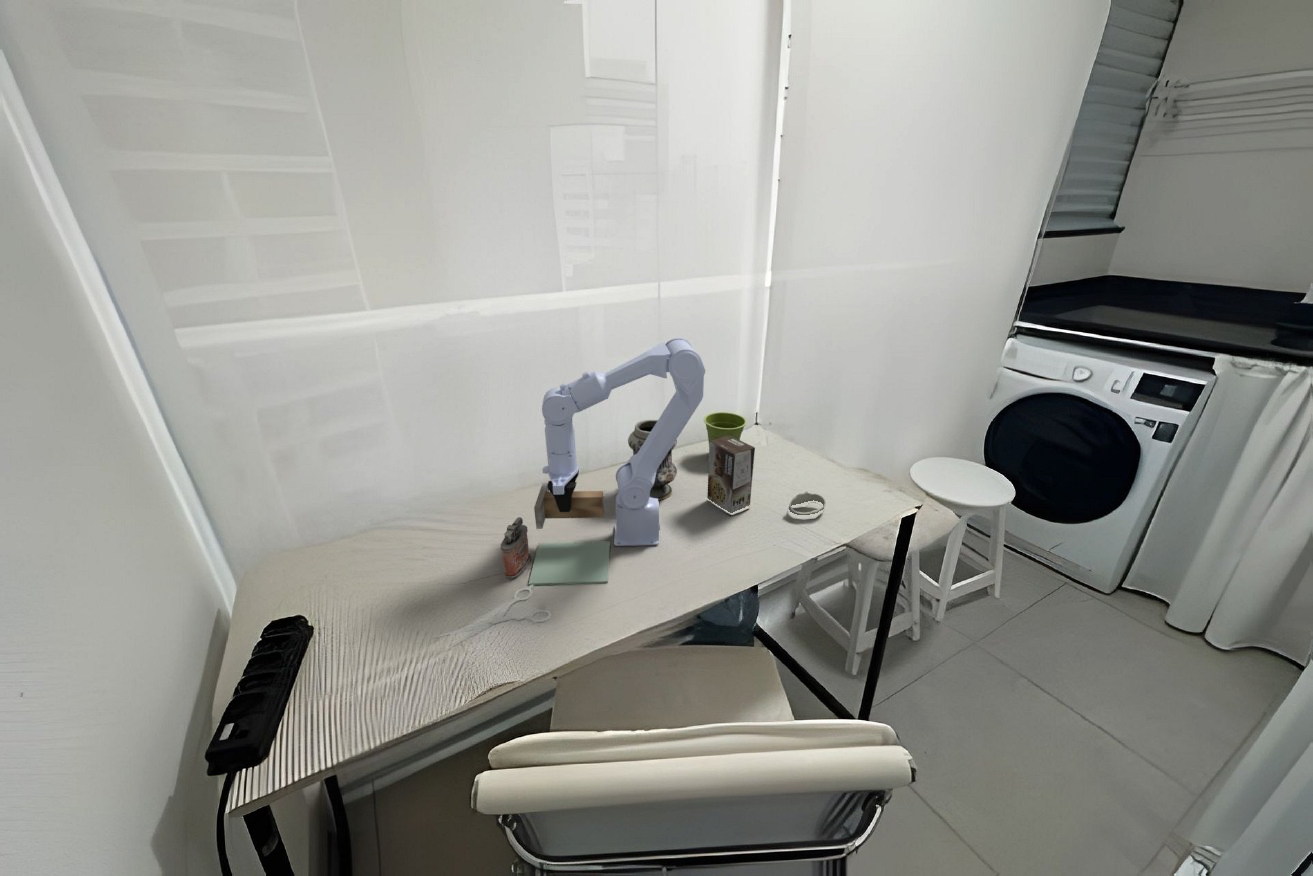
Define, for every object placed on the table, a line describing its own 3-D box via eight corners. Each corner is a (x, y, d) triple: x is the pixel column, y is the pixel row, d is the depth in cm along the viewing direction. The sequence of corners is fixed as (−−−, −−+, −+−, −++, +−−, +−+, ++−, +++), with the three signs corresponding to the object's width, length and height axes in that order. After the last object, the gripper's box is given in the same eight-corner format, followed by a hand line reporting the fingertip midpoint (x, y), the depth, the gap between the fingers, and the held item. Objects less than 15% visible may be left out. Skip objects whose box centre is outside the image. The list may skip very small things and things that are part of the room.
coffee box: (751, 508, 127) (756, 447, 120) (730, 517, 123) (735, 454, 117) (725, 492, 134) (729, 433, 127) (705, 500, 130) (708, 440, 124)
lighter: (517, 581, 102) (511, 538, 98) (501, 579, 103) (494, 536, 99) (534, 556, 110) (529, 515, 106) (519, 554, 110) (513, 513, 106)
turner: (604, 502, 117) (604, 482, 115) (601, 528, 108) (601, 506, 106) (544, 502, 116) (542, 482, 114) (536, 528, 107) (534, 507, 105)
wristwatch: (814, 504, 129) (817, 486, 127) (830, 517, 124) (833, 498, 122) (781, 510, 126) (784, 492, 124) (797, 524, 121) (799, 506, 119)
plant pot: (700, 464, 148) (702, 426, 143) (704, 446, 158) (705, 410, 154) (743, 467, 146) (746, 429, 141) (744, 449, 157) (747, 413, 152)
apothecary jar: (674, 479, 140) (676, 415, 132) (678, 503, 129) (679, 435, 121) (628, 480, 139) (627, 416, 132) (627, 504, 128) (626, 436, 121)
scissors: (561, 612, 95) (446, 665, 84) (561, 616, 95) (446, 668, 84) (535, 580, 102) (427, 624, 91) (535, 584, 103) (428, 628, 92)
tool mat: (609, 542, 114) (609, 541, 114) (607, 583, 102) (607, 581, 102) (539, 544, 113) (538, 543, 113) (528, 585, 101) (528, 583, 101)
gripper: (546, 433, 112) (551, 489, 118) (534, 465, 99) (540, 527, 105) (580, 433, 112) (583, 489, 118) (572, 465, 99) (576, 526, 105)
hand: (565, 507), depth 111 cm, fingers closed on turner, 2 cm apart
